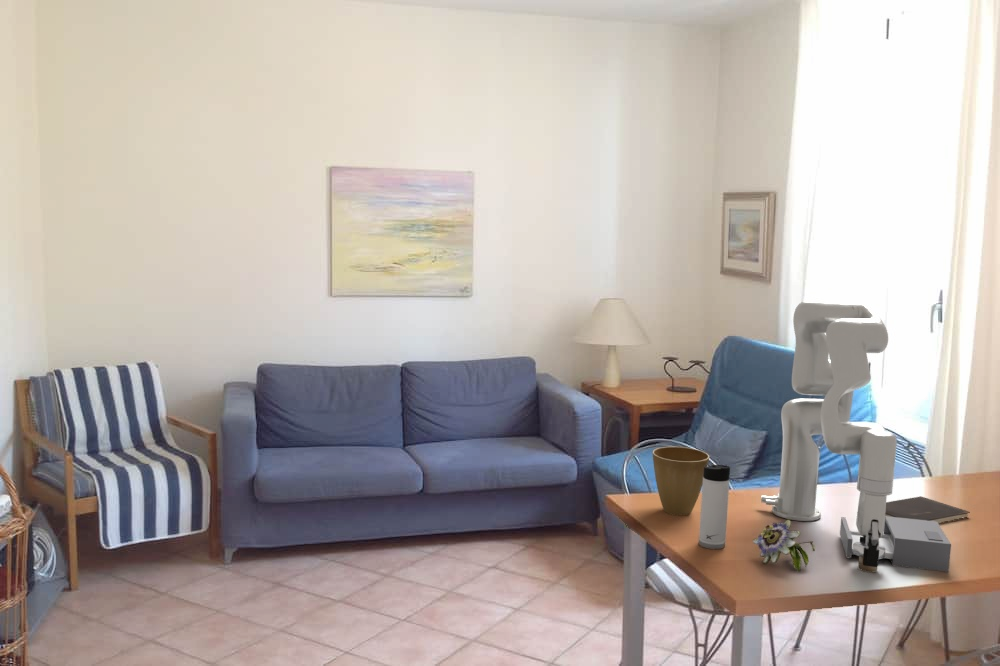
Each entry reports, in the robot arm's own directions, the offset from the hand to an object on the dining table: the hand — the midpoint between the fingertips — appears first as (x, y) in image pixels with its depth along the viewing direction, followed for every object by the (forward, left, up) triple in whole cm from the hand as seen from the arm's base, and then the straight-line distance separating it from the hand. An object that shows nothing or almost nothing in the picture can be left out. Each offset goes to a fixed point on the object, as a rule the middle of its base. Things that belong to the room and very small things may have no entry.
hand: (868, 559), depth 221 cm
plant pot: (-45, +28, -2) cm, 53 cm away
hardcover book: (+18, +49, -3) cm, 52 cm away
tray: (+2, +13, -2) cm, 13 cm away
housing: (+12, +13, -2) cm, 18 cm away
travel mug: (-35, +4, -2) cm, 35 cm away
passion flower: (-19, -2, -3) cm, 19 cm away
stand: (0, 0, -2) cm, 2 cm away
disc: (0, 0, +1) cm, 1 cm away
